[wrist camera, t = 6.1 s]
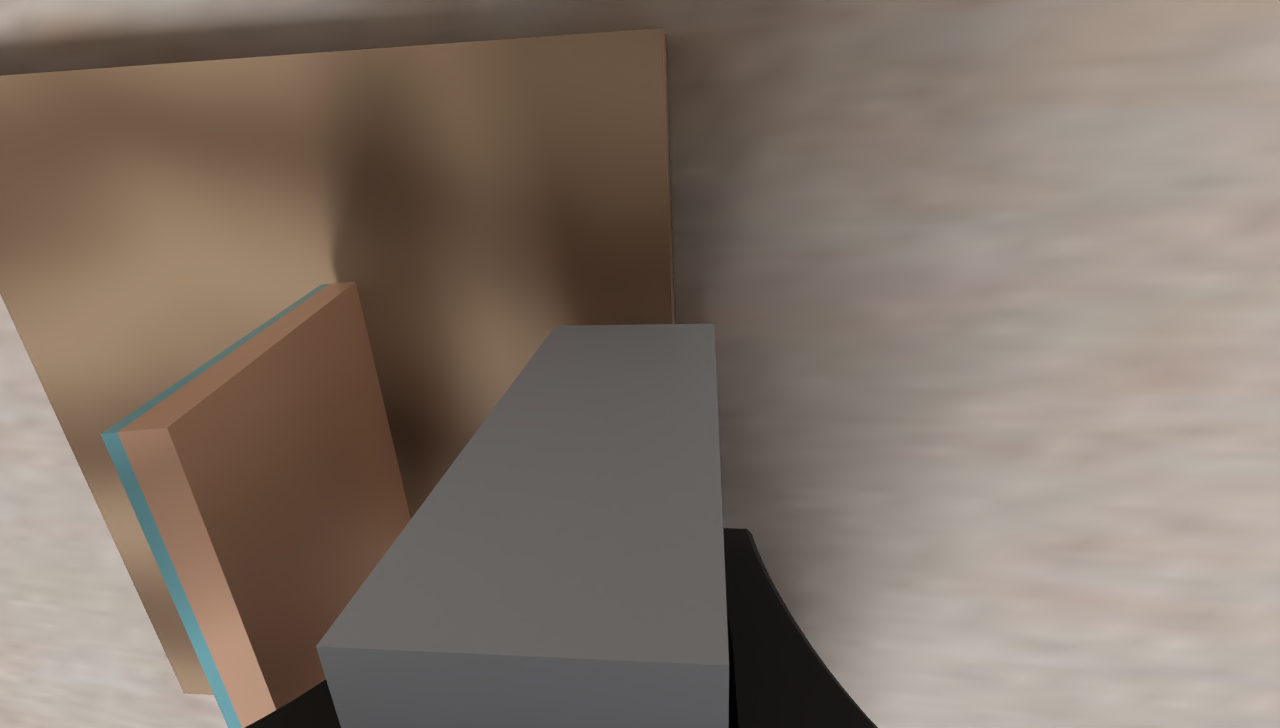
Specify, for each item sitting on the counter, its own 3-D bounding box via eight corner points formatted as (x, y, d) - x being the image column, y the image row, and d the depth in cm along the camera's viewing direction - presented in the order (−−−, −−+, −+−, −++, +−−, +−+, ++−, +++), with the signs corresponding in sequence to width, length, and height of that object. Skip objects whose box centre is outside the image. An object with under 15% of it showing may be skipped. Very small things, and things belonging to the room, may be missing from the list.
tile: (348, 895, 12) (303, 902, 12) (430, 602, 19) (403, 606, 19) (167, 428, 8) (100, 434, 8) (355, 281, 15) (321, 284, 15)
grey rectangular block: (715, 615, 16) (725, 1144, 8) (584, 610, 16) (458, 1109, 8) (714, 323, 13) (729, 665, 5) (555, 325, 14) (314, 647, 5)
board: (687, 688, 21) (685, 719, 20) (208, 665, 23) (183, 693, 22) (665, 34, 14) (662, 27, 13) (-40, 84, 16) (-97, 82, 15)
